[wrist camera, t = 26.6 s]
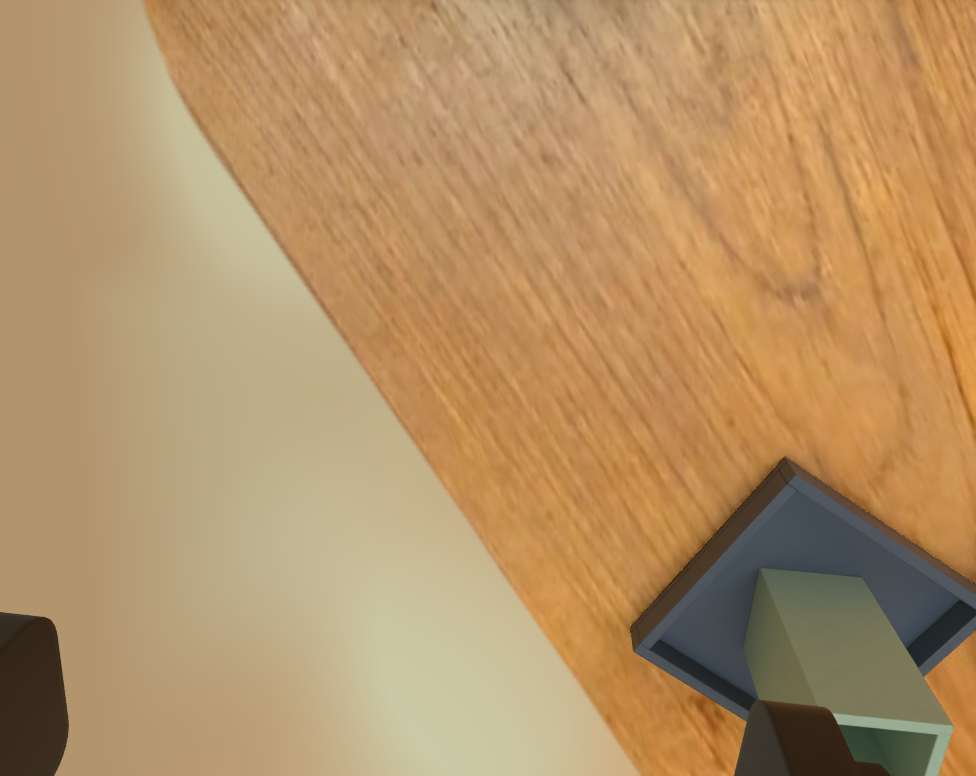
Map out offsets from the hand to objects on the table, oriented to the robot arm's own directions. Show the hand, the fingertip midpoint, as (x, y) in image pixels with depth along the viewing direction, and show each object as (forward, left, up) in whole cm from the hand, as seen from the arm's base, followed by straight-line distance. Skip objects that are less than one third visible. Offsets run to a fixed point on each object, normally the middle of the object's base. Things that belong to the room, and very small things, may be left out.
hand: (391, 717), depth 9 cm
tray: (-7, -22, -29) cm, 37 cm away
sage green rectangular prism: (-9, -23, -23) cm, 34 cm away
